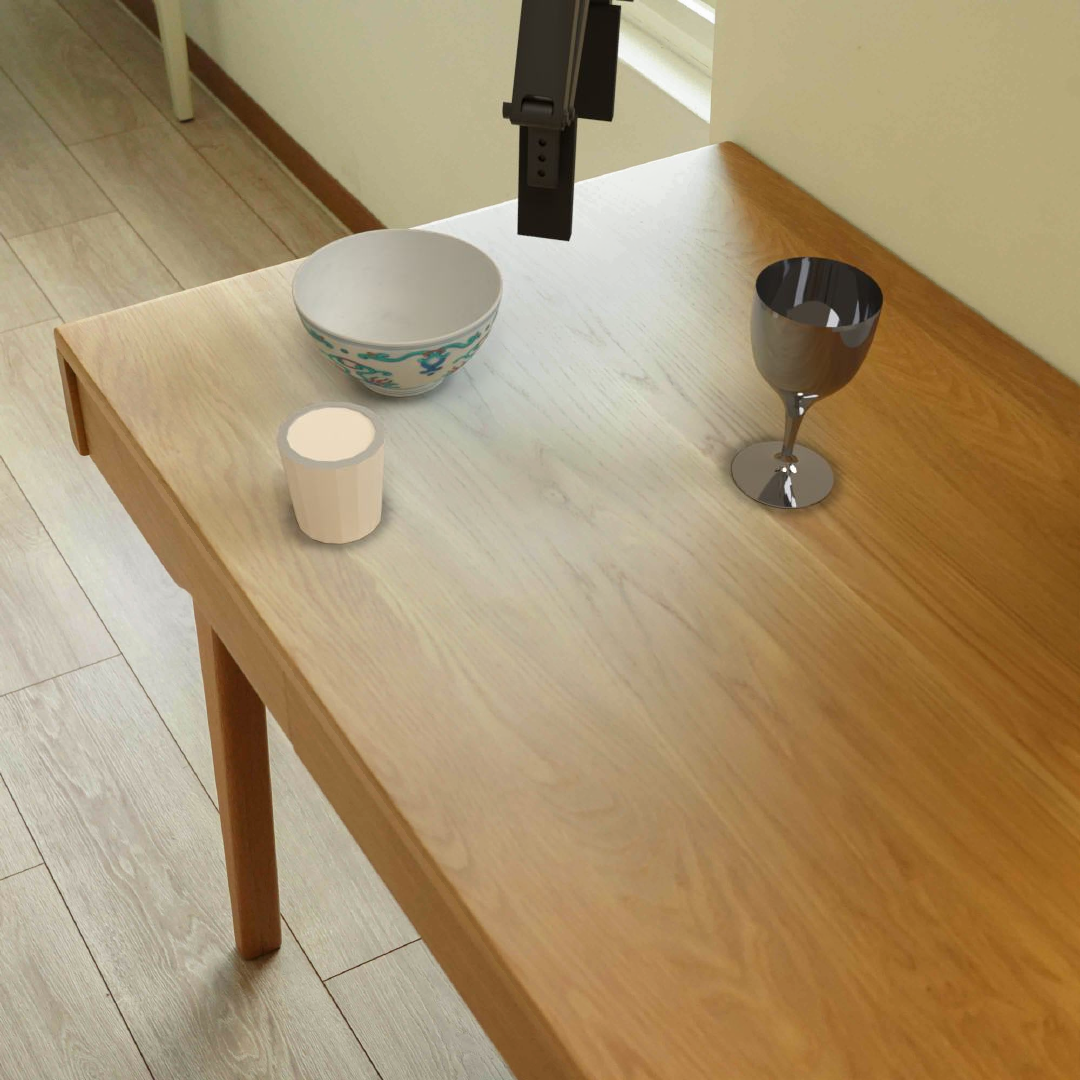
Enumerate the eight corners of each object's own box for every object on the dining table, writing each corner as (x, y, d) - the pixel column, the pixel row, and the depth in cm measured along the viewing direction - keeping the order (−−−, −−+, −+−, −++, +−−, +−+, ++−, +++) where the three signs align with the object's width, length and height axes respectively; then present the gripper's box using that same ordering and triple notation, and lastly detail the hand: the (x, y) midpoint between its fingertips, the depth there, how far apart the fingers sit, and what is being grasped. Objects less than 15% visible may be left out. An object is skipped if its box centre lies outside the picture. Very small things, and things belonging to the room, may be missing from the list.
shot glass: (411, 507, 90) (408, 425, 86) (345, 565, 86) (337, 482, 81) (333, 468, 93) (325, 386, 88) (265, 522, 89) (252, 440, 84)
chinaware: (262, 362, 102) (250, 274, 96) (418, 292, 109) (415, 207, 104) (383, 460, 94) (377, 370, 89) (542, 378, 101) (546, 290, 96)
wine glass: (853, 457, 96) (897, 275, 85) (821, 525, 90) (864, 340, 80) (746, 426, 98) (777, 245, 88) (709, 490, 93) (737, 306, 82)
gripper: (558, -334, 69) (545, 68, 83) (435, -198, 51) (446, 283, 65) (705, -323, 68) (666, 82, 82) (631, -180, 50) (598, 304, 65)
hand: (568, 172), depth 74 cm, fingers open, 13 cm apart
